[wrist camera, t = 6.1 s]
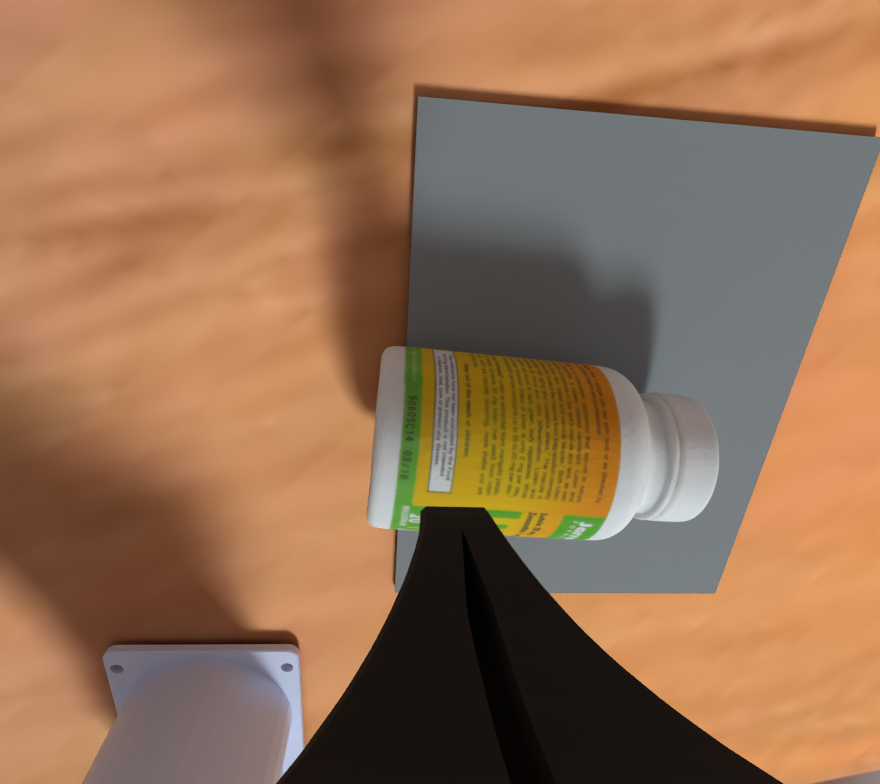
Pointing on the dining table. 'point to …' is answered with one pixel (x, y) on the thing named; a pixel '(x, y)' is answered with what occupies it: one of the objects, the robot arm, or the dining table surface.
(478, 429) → the supplement bottle
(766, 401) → the mat
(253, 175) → the dining table surface
